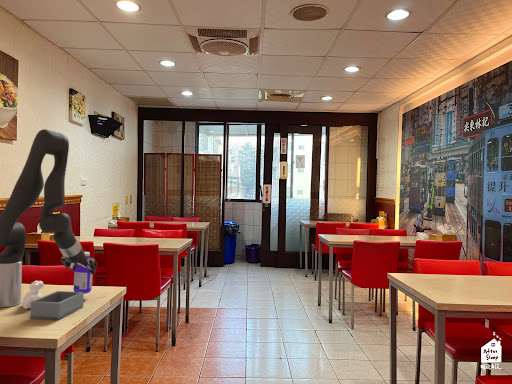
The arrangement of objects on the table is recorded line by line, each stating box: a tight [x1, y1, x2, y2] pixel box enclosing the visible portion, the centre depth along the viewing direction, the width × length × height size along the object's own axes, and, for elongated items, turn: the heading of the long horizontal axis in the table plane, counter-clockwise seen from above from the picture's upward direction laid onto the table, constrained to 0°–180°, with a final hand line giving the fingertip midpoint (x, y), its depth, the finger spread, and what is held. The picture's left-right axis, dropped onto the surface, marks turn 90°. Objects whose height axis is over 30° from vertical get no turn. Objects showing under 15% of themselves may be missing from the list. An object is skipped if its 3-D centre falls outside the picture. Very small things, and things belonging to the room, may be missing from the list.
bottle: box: [73, 251, 94, 295], centre depth 164 cm, size 7×6×17 cm
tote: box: [29, 290, 84, 321], centre depth 144 cm, size 11×16×6 cm
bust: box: [21, 280, 45, 310], centre depth 151 cm, size 12×8×11 cm
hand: (85, 272), depth 165 cm, fingers closed on bottle, 7 cm apart
